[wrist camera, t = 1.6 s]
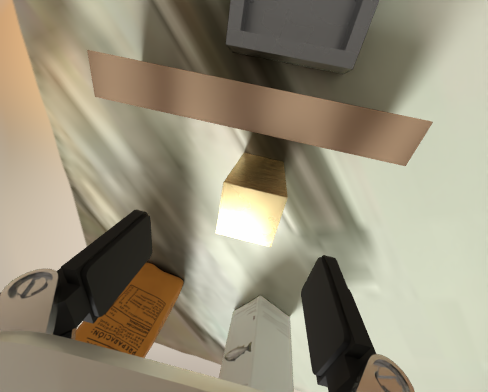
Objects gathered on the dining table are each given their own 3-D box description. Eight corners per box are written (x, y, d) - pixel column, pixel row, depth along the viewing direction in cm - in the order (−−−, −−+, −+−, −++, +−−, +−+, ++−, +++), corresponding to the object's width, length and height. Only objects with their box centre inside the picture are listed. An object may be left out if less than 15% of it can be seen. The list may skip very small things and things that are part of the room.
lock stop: (283, 161, 21) (287, 197, 13) (273, 196, 23) (270, 247, 15) (244, 152, 21) (223, 182, 13) (237, 188, 23) (215, 233, 15)
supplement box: (259, 293, 31) (249, 402, 19) (291, 316, 32) (298, 431, 21) (232, 309, 34) (209, 411, 23) (261, 330, 35) (254, 436, 24)
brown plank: (384, 116, 17) (433, 121, 12) (368, 148, 19) (405, 166, 13) (141, 65, 19) (87, 49, 13) (143, 98, 20) (94, 96, 15)
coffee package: (119, 284, 36) (-66, 497, 17) (142, 249, 31) (-95, 505, 11) (163, 310, 38) (40, 533, 18) (192, 281, 32) (62, 555, 13)
